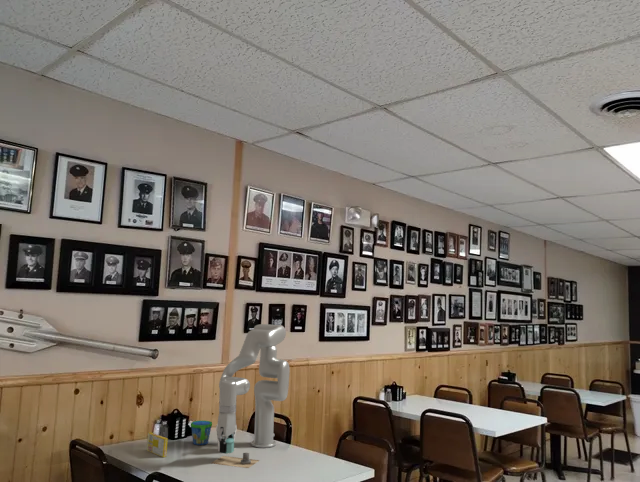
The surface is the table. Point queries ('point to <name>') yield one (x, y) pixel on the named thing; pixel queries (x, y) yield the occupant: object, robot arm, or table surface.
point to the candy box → (157, 444)
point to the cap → (230, 445)
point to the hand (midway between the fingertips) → (226, 449)
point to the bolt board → (236, 461)
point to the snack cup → (201, 432)
